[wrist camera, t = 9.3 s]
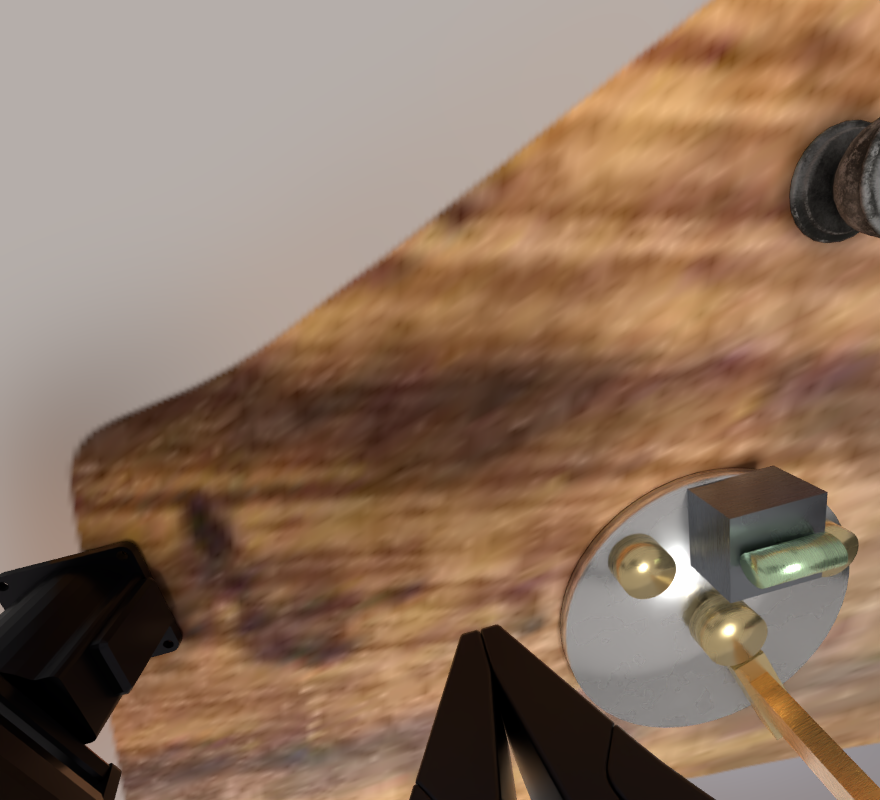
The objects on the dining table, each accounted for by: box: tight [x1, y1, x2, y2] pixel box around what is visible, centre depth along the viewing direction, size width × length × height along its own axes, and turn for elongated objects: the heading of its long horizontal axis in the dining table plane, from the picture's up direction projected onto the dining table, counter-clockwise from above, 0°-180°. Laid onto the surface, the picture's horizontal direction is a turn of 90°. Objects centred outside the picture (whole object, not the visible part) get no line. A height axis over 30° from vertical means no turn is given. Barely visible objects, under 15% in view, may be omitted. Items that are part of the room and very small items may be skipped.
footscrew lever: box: [689, 594, 880, 800], centre depth 22 cm, size 12×4×10 cm, turn 35°
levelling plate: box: [560, 466, 858, 728], centre depth 24 cm, size 18×18×6 cm
